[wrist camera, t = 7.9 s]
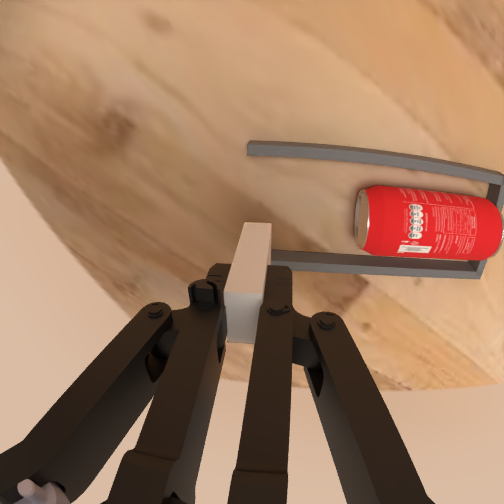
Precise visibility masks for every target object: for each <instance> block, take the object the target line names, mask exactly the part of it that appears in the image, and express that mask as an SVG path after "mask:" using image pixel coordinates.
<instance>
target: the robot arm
mask: <svg viewBox="0 0 504 504" xmlns="http://www.w3.org/2000/svg"><path fill="white" fill-rule="evenodd" d="M188 292H189V299H190V306H189V307H187V308H184V309H179V310H171V308H170V307H169V305H167V304H165V303H162V302H155V303H151V304H148V305H146V306H145V307H143V308H142V309H141V310H140V311H139V312H138V313H137V314H136V316H135V317H134V318H133V319H132V320H131V321H130V322H129V323H128V324H127V325H126V326H125V327H124V328H123V329H122V330H121V331H120V332H119V334H118V335H117V336H116V337H115V338H114V339H113V340H112V341H111V342H110V343H109V344H108V345H107V346H106V347H105V349H104V350H103V351H102V352H101V353H100V354H99V355H98V356H97V357H96V358H95V359H94V360H93V362H92V363H91V364H90V365H89V366H88V367H87V368H86V369H85V371H83V372H82V374H81V375H80V376H79V377H78V378H77V379H76V380H75V381H74V383H73V384H72V385H71V386H70V387H69V388H68V389H67V391H66V392H64V394H63V395H62V396H61V397H60V398H59V399H58V400H57V402H56V403H55V404H54V405H53V406H52V407H51V408H50V410H49V411H48V412H47V413H46V414H45V415H44V417H43V418H42V419H41V420H40V421H39V422H38V423H37V424H36V426H35V427H34V428H33V429H32V430H31V431H30V433H29V434H28V435H27V436H26V438H25V439H24V440H23V441H21V442H20V443H18V444H17V445H15V446H13V447H12V448H10V449H8V450H7V451H5V452H3V453H2V454H0V504H71V503H72V502H74V501H75V500H76V499H77V498H78V497H79V496H80V495H81V494H83V493H84V491H85V490H86V489H87V488H88V487H89V485H90V484H91V483H92V481H93V480H94V479H95V477H96V476H97V474H98V473H99V472H100V470H101V469H102V468H103V466H104V465H105V463H106V462H107V460H108V459H109V458H110V456H111V455H112V454H113V452H114V451H115V449H116V448H117V447H118V445H119V444H120V442H121V441H122V439H123V438H124V437H125V435H126V434H127V433H128V431H129V430H130V428H131V427H132V426H133V424H134V423H135V421H136V420H137V418H138V417H139V416H140V414H141V413H142V412H143V410H144V409H145V407H146V406H147V404H148V403H149V402H150V400H151V399H152V397H153V396H154V397H153V400H152V403H151V406H150V408H149V411H148V414H147V416H146V419H145V422H144V425H143V427H142V430H141V433H140V436H139V439H138V441H137V444H136V446H135V448H134V449H133V450H129V451H127V452H126V453H125V454H124V456H123V458H122V460H121V463H120V465H119V468H118V471H117V474H116V477H115V479H114V482H113V485H112V488H111V491H110V494H109V496H108V499H107V500H106V501H104V502H102V503H101V504H195V485H196V481H197V476H198V472H199V467H200V462H201V458H202V454H203V449H204V445H205V440H206V436H207V431H208V427H209V422H210V418H211V413H212V408H213V405H214V400H215V396H216V391H217V387H218V382H219V378H220V374H221V369H222V365H223V360H224V356H225V352H226V347H225V340H226V336H227V342H235V343H249V344H255V345H254V352H253V359H252V365H251V372H250V379H249V386H248V392H247V399H246V405H245V412H244V419H243V426H242V431H241V438H240V444H239V450H238V457H237V463H236V467H235V469H234V471H233V474H232V480H231V485H230V491H229V496H228V503H227V504H286V502H287V488H288V473H287V468H288V467H287V466H288V451H289V431H290V409H291V382H292V363H294V364H298V365H301V366H304V371H305V374H306V378H307V381H308V384H309V387H310V390H311V393H312V396H313V399H314V402H315V405H316V408H317V411H318V414H319V417H320V420H321V423H322V426H323V429H324V433H325V436H326V439H327V442H328V445H329V448H330V451H331V454H332V457H333V461H334V463H335V466H336V470H337V473H338V476H339V479H340V483H341V486H342V489H343V492H344V495H345V498H346V502H347V504H435V503H434V502H433V501H432V500H431V499H430V498H429V497H428V496H427V494H426V492H425V490H424V487H423V485H422V483H421V480H420V478H419V476H418V474H417V471H416V469H415V467H414V465H413V462H412V460H411V458H410V455H409V454H408V451H407V449H406V447H405V445H404V442H403V440H402V438H401V436H400V434H399V432H398V429H397V428H396V426H395V423H394V421H393V419H392V417H391V415H390V413H389V410H388V408H387V406H386V404H385V402H384V400H383V398H382V396H381V394H380V392H379V390H378V388H377V386H376V384H375V382H374V380H373V378H372V376H371V374H370V372H369V370H368V368H367V366H366V364H365V362H364V360H363V358H362V356H361V354H360V352H359V350H358V348H357V346H356V344H355V342H354V340H353V338H352V337H351V335H350V333H349V331H348V329H347V327H346V325H345V323H344V321H343V320H342V319H341V317H340V316H338V315H336V314H335V313H331V312H319V313H316V314H315V315H313V316H312V317H311V318H310V317H306V316H303V315H301V314H299V313H298V312H297V311H295V309H294V308H293V305H292V271H291V269H290V268H289V267H288V266H278V265H271V223H253V222H245V223H244V226H243V229H242V232H241V236H240V239H239V242H238V246H237V249H236V252H235V255H234V259H233V262H232V264H220V263H216V264H215V265H214V266H212V267H211V268H210V270H209V272H208V275H207V277H206V279H201V280H197V281H195V282H193V283H191V284H190V285H189V287H188Z"/></svg>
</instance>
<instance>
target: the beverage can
mask: <svg viewBox="0 0 504 504" xmlns="http://www.w3.org/2000/svg"><path fill="white" fill-rule="evenodd" d="M503 238H504V220H503V216H502V213H501V211H500V209H499V207H498V206H497V205H496V204H495V203H493V202H490V201H489V200H488V199H486V198H480V197H474V196H467V195H460V194H453V193H445V192H437V191H429V190H420V189H411V188H401V187H391V186H380V185H376V186H373V187H371V188H368V189H364V190H363V189H362V190H361V191H360V192H359V194H358V198H357V202H356V209H355V240H356V244H357V247H358V249H362V250H364V251H366V252H368V253H370V254H372V255H375V256H396V257H417V258H439V259H460V260H485V259H487V258H491V257H493V256H495V255H496V254H497V252H498V251H499V249H500V247H501V245H502V242H503Z"/></svg>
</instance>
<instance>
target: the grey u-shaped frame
mask: <svg viewBox="0 0 504 504" xmlns="http://www.w3.org/2000/svg"><path fill="white" fill-rule="evenodd" d="M247 156H275V157H295V158H310V159H324V160H336V161H347V162H357V163H367V164H376V165H384V166H392V167H400V168H407V169H414V170H421V171H427V172H434V173H440V174H446V175H451V176H457V177H462V178H468V179H473V180H478V181H483V182H488V183H490V185H489V190H488V195H487V199H488V200H489V201H490V202H493V203H495V204H496V205H497V206H498V207H499V209H500V211H501V212H502V208H503V204H504V175H503V174H501V173H500V172H497V171H493V170H488V169H484V168H480V167H475V166H470V165H466V164H461V163H456V162H451V161H445V160H440V159H434V158H429V157H423V156H417V155H410V154H404V153H397V152H389V151H382V150H374V149H365V148H356V147H347V146H336V145H325V144H311V143H296V142H276V141H250V142H249V143H248V144H247ZM486 261H487V259H485V260H469V262H461V261H446V260H430V259H414V258H398V257H382V256H365V255H349V254H333V253H316V252H299V251H283V250H271V265H278V266H288V267H289V268H290V269H291V270H295V271H313V272H330V273H349V274H368V275H389V276H410V277H433V278H458V279H480V278H481V275H482V273H483V270H484V267H485V264H486Z"/></svg>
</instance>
